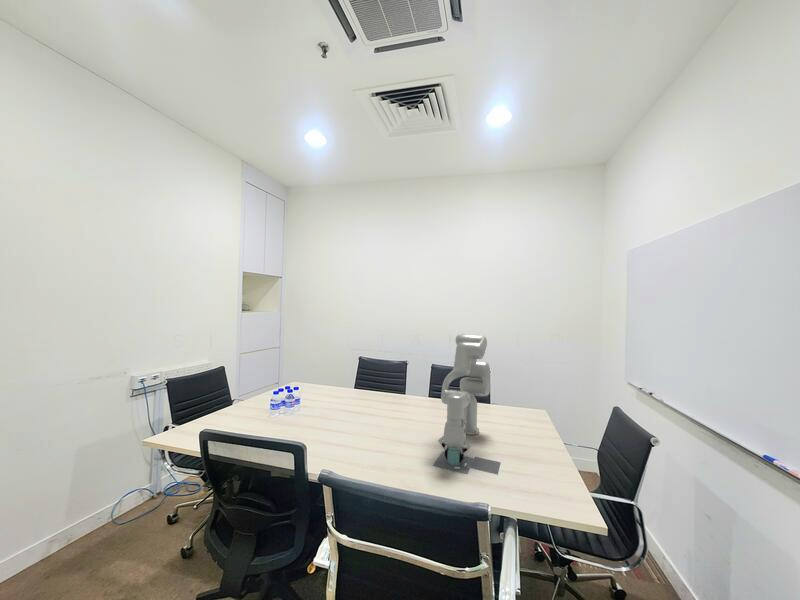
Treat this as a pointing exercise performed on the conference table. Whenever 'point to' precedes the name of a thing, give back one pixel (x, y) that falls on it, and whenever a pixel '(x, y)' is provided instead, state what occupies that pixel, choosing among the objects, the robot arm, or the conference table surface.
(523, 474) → the conference table surface
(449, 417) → the robot arm
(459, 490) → the conference table surface
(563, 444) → the conference table surface
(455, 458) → the cap
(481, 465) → the mat
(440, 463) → the post plate
